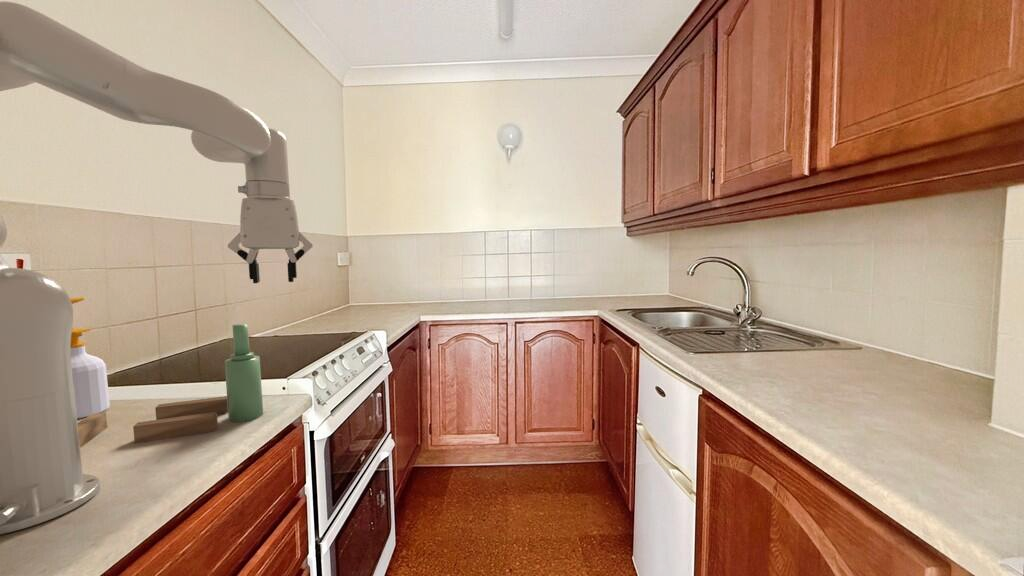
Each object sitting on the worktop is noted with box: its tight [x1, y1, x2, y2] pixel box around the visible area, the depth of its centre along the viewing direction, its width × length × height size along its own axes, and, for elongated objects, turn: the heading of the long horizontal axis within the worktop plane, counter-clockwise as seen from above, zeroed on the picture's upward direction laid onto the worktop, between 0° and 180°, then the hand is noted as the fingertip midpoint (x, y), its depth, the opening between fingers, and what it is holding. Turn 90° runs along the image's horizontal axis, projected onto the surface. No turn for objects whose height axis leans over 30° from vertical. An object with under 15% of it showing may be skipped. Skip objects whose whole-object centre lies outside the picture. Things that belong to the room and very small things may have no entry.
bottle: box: [224, 323, 264, 423], centre depth 86 cm, size 6×6×19 cm
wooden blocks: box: [77, 395, 228, 449], centre depth 80 cm, size 12×22×3 cm, turn 113°
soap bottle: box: [70, 297, 111, 420], centre depth 88 cm, size 9×9×25 cm
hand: (274, 281), depth 87 cm, fingers open, 5 cm apart
